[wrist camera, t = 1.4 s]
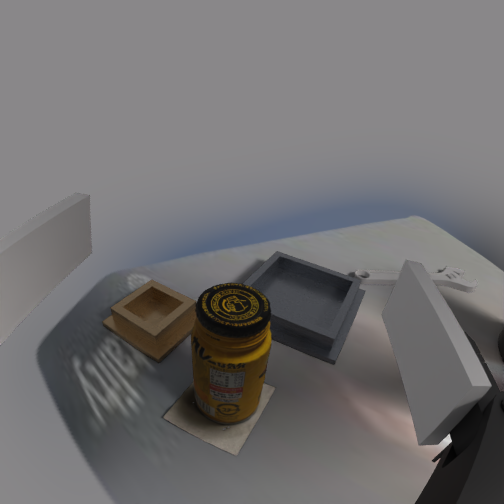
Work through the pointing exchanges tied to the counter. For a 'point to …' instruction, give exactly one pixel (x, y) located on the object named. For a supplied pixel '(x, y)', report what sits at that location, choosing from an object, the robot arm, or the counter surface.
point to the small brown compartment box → (153, 319)
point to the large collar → (308, 304)
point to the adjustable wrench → (445, 278)
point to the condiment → (227, 367)
